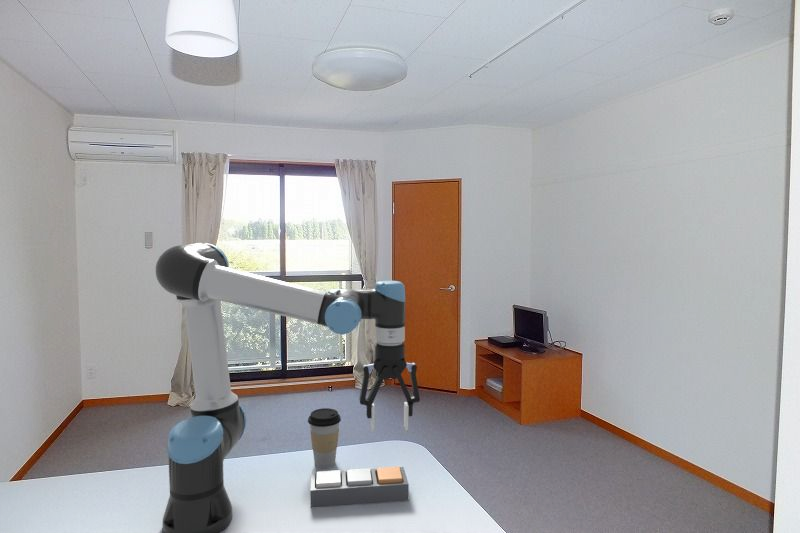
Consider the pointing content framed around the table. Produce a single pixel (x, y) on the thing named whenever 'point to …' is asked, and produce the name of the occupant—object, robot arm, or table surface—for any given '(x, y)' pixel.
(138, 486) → the table surface
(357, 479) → the key grey
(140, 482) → the table surface
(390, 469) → the key orange
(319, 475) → the key cream
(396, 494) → the keypad
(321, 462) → the coffee cup
